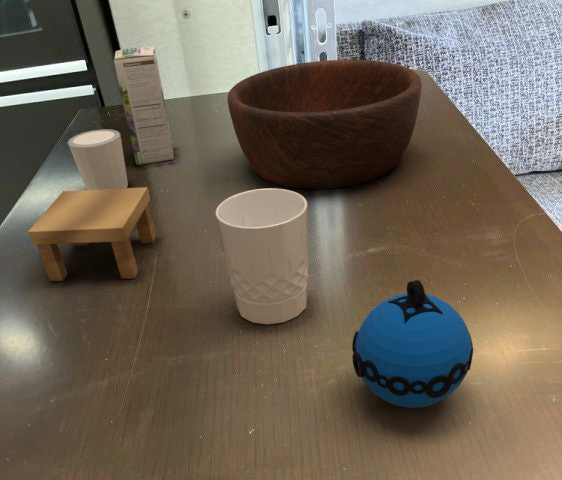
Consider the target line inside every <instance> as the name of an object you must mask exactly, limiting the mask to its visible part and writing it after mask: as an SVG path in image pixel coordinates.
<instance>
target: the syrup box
mask: <svg viewBox="0 0 562 480" xmlns="http://www.w3.org/2000/svg"><path fill="white" fill-rule="evenodd" d="M113 65H114V69H115V73H116V79H117V82H118V87H119V92H120V96H121V100H122V106H123V110H124V114H125V120H126V123H127V129H128V133H129V137H130V143H131V147H132V151H133V155H134V160H135V165H137V166H140V165H147V164H154V163H159V162H166V161H171V160H172V161H173V160H175V156H174V147H173V141H172V136H171V129H170V124H169V117H168V113H167V107H166V101H165V96H164V92H163V86H162V80H161V74H160V69H159V63H158V58H157V53H156V47H154V46H136V47H134V46H133V47H128V48H123V49H118V50H116V51H115V53H114V59H113Z"/></svg>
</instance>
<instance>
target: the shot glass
mask: <svg viewBox="0 0 562 480" xmlns="http://www.w3.org/2000/svg"><path fill="white" fill-rule="evenodd" d="M67 145H68V147H69V150H70V152H71V154H72V157H73V160H74V162H75V165H76V167H77V171H78V173H79V174H80V178H81V180H82V183H83V185H84V187H85V190H102V189H122V188H128V186H129V183H128V176H127V169H126V162H125V156H124V149H123V143H122V137H121V133H120V132H119V131H118V130H115V129H106V128H105V129H93V130H89V131H84V132H81V133H79V134H76V135H74V136H73V137H70V138H69V139H68V141H67Z"/></svg>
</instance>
